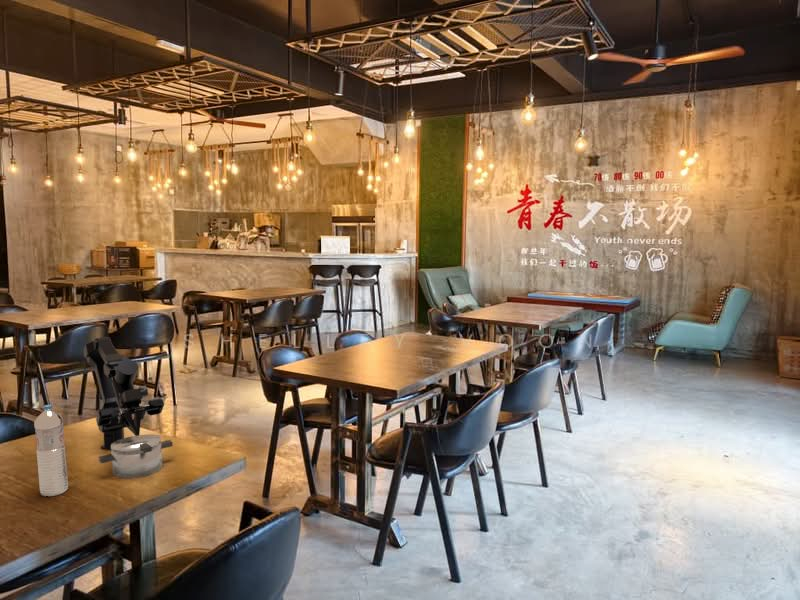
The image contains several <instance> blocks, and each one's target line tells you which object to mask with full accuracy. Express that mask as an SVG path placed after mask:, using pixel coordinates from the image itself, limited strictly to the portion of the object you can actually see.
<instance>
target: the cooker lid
mask: <svg viewBox="0 0 800 600" xmlns="http://www.w3.org/2000/svg"><path fill="white" fill-rule="evenodd" d="M160 442H162V438H161V436H160V435H158V434H139V436H135V435H132V436H128V437H127V436H126V437H124V438H123V439H120V440H118V441H115V442H114V443H112V444H111V449H110V450H112V451H115V452H132V451H138V450H141V451H143V452H144V453H146V452H150V451H152V447H153V446H155V445H157V444H159V443H160Z"/></svg>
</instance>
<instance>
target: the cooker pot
mask: <svg viewBox="0 0 800 600" xmlns="http://www.w3.org/2000/svg"><path fill="white" fill-rule="evenodd" d="M173 444H174V443H173V441H172V440H171V439H168V440H164V441H161V442H160V443H159V444H157V445H155V446H153V447H152V451H150V452H146V453H144V452H143V451H141V450H138V451H132V452H115V451H112V450H111V449H110V450H111V451H110V453H108V454H105V455H100V456H98V462H99V463H100V464H105V463H109V462H110V463H111V469H112V475H113V476H114V477H116V478H118V479H119V478H120V479H136V478H142V477H146V476H149V475H152V474H155V473H156V472H159V470H160V468H161V467H162V468H163V455H162V454H163V451H162V450H163V449H166V448H172V447H173ZM162 468H161V469H162Z"/></svg>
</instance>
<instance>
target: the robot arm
mask: <svg viewBox="0 0 800 600" xmlns="http://www.w3.org/2000/svg"><path fill="white" fill-rule="evenodd" d="M83 356H84V358H85V359H86V361H87V364H88V365H89V366H90V367H92V368H93V369H94V372H95V376H96V380H97V385H98V388H99V392H100V397H101V400H102V403H103V405H102V407H101V409H98V411H97V414H96V417H95V421H96V425H97V426H98V430H99V432H101V433H103V445H101V446H100V449H103V450H108V449H109V450H111V444H112V443H114V442H115V441H118V440H120V439H123V438H125V432H124V431H125V430H124V429H125V428H127V429H128V430H129V431H130V433H132V434H133V436H139V435H141V434H140V431H141V423H142V422H141V421H142V420H144V418H145V415H146V414H147V415H149V416H156V415H160V414H162V412H163V409H164V406H165V403H164V400H163V399H162V398H154V399H149V400H148V403H147V404H144V405H140V404H142V402H143V401H142V400H143V398H144V397H147V396H148V395H149V392H148V388H147V385H140V386H139V387H138V388H135V386H134V382H135V380H136V377H137V373H138V370H139V364H138V363H137V362H136V361H134V360H132V359H130V358H129V357H128V356H125V355H123V354H119V352H118V351H117V349H116V348H115V346H114V345H113V342H112V339H111V337H108V336H103V337H96V338H94V339H93V340H92V341H90V342H88V343H86V344H85V345H84V348H83Z"/></svg>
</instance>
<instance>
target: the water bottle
mask: <svg viewBox="0 0 800 600" xmlns="http://www.w3.org/2000/svg"><path fill="white" fill-rule="evenodd" d="M52 407H53V406H52V404H45V405H44V406H43V410H44V411H42V412H41V413H40V414H39V415H38V416H37V418H36V419H35V420H34V422H33V424H34V427H33V428H34V429H35V430H34V431H35V441H36V443H35V444H36V458H37V471H38V472H37V473H38V484H39V492H40V495H41V496H42V497H46V496H48V497H55V496H59V495H62V494H64V493H65V492H66V491H67V490H68V489H69V479H68V478H69V477H68V468H67V455H66V452H67V451H66V444H65V433H64V418H63V416H62V414H61V415H60V413H58V412H57V411H54V410H52Z"/></svg>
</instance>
